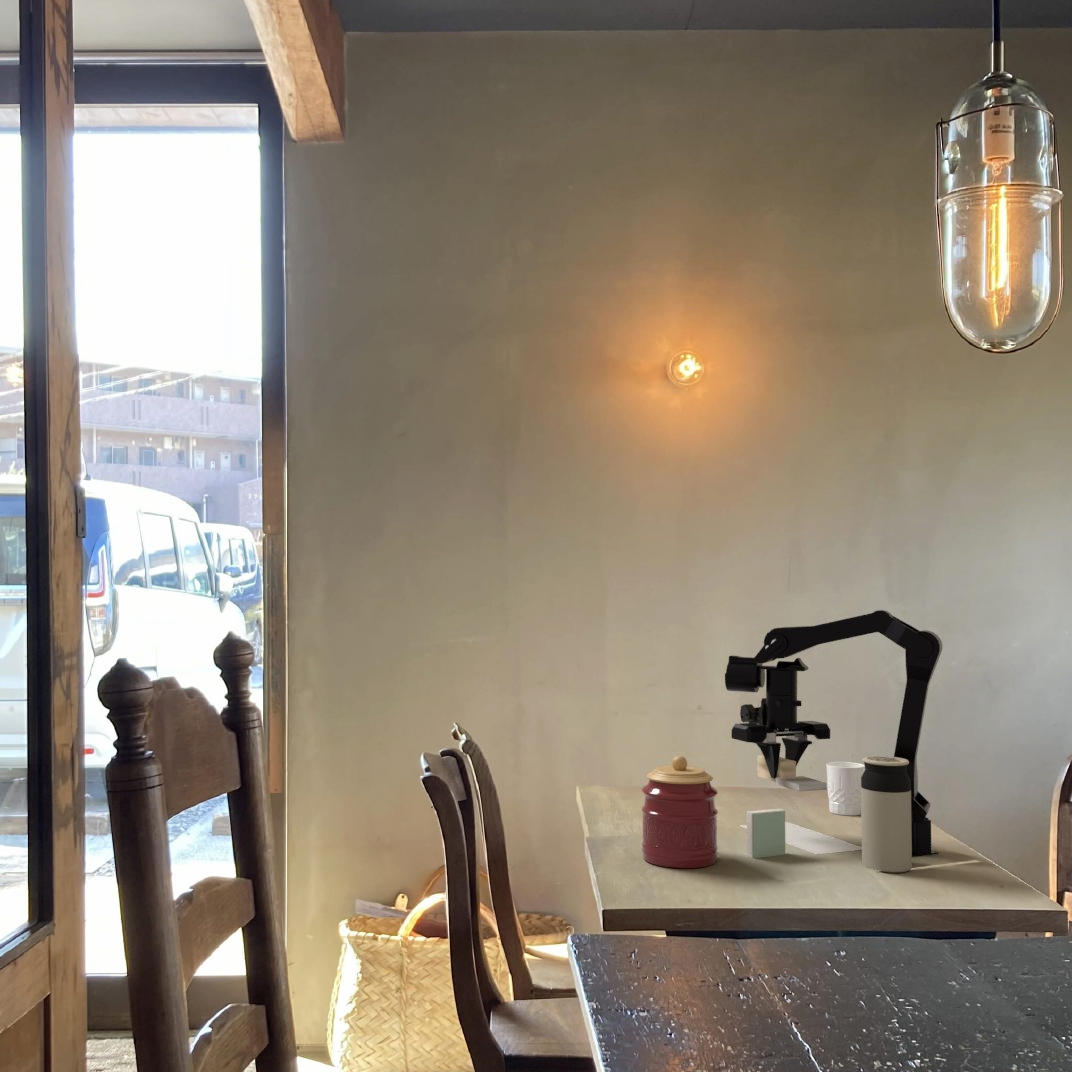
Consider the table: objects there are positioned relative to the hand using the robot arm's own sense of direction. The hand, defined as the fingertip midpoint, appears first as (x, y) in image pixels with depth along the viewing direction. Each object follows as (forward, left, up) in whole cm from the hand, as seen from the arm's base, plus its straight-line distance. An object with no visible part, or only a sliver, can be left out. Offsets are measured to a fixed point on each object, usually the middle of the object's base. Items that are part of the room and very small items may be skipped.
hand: (780, 777), depth 193 cm
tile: (-10, +11, -11) cm, 19 cm away
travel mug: (-23, -4, -12) cm, 26 cm away
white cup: (+15, -27, -12) cm, 33 cm away
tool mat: (-1, -3, -11) cm, 12 cm away
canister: (-6, +26, -12) cm, 29 cm away
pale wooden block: (-2, 0, -1) cm, 2 cm away
